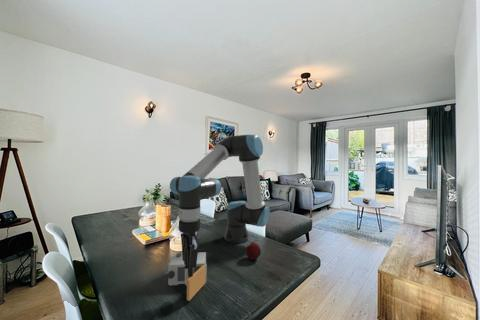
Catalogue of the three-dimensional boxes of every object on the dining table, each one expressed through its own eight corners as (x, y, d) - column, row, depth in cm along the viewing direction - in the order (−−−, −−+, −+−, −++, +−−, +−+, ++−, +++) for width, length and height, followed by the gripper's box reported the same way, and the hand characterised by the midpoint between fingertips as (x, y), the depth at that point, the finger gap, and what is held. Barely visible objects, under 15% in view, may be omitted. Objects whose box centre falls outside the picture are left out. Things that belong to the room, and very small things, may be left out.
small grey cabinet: (205, 269, 92) (205, 250, 92) (204, 285, 81) (204, 262, 81) (173, 271, 90) (173, 251, 90) (167, 287, 79) (167, 264, 79)
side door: (204, 280, 82) (204, 263, 82) (207, 281, 82) (207, 263, 82) (186, 300, 71) (186, 280, 71) (189, 301, 70) (189, 280, 70)
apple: (252, 253, 108) (252, 238, 108) (264, 259, 102) (264, 243, 102) (242, 258, 103) (242, 242, 103) (254, 264, 97) (254, 247, 97)
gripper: (173, 215, 77) (173, 277, 77) (185, 226, 66) (184, 297, 67) (193, 213, 81) (192, 271, 82) (206, 222, 70) (206, 289, 71)
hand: (189, 283), depth 74 cm, fingers closed
